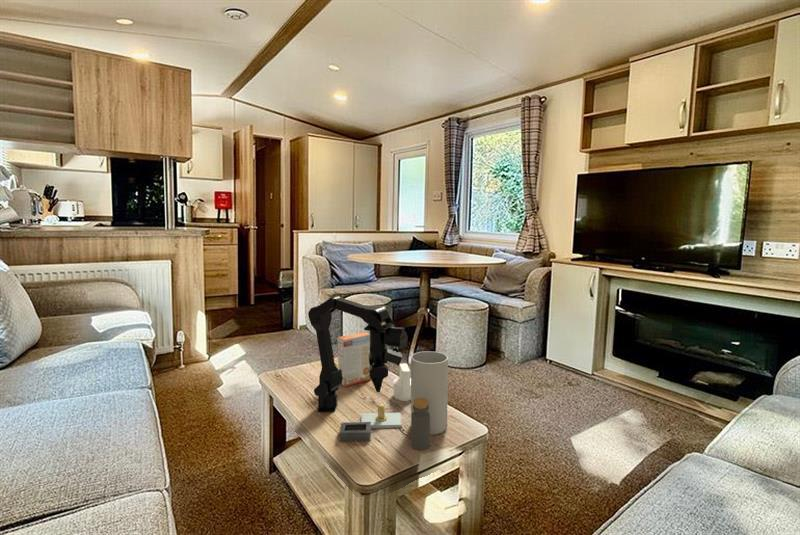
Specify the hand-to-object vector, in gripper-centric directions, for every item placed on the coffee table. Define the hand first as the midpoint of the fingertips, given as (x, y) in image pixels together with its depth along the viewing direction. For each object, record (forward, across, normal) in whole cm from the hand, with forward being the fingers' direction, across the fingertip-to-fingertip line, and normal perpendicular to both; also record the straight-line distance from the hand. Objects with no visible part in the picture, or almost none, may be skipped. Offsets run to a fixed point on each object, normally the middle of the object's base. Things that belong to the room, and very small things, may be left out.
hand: (377, 386), depth 150 cm
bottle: (+13, -17, -13) cm, 25 cm away
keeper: (+13, 0, -1) cm, 13 cm away
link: (+13, -9, +8) cm, 18 cm away
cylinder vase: (+13, -5, -18) cm, 22 cm away
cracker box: (+14, +38, +9) cm, 41 cm away
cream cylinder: (+13, +21, -12) cm, 27 cm away
